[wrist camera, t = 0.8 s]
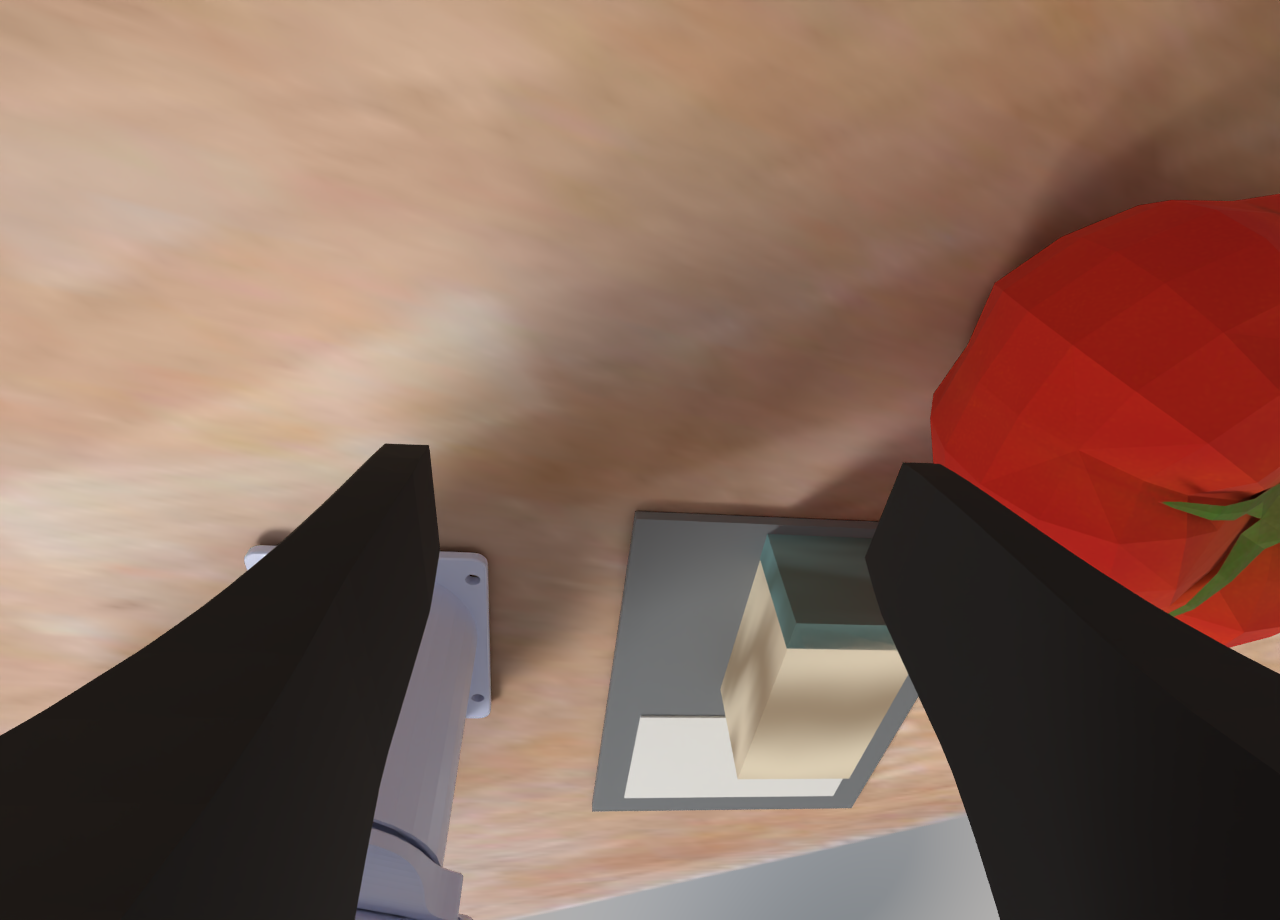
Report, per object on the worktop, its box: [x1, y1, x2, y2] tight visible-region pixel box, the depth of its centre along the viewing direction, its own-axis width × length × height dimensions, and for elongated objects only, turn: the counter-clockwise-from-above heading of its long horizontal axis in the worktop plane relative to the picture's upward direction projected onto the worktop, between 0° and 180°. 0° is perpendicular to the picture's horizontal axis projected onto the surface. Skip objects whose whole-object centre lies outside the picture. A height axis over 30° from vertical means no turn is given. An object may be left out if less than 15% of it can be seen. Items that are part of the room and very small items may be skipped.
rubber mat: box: [592, 511, 918, 811], centre depth 30 cm, size 20×14×1 cm
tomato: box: [930, 194, 1280, 647], centre depth 17 cm, size 13×12×8 cm
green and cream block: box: [720, 534, 908, 779], centre depth 25 cm, size 9×5×4 cm, turn 173°
